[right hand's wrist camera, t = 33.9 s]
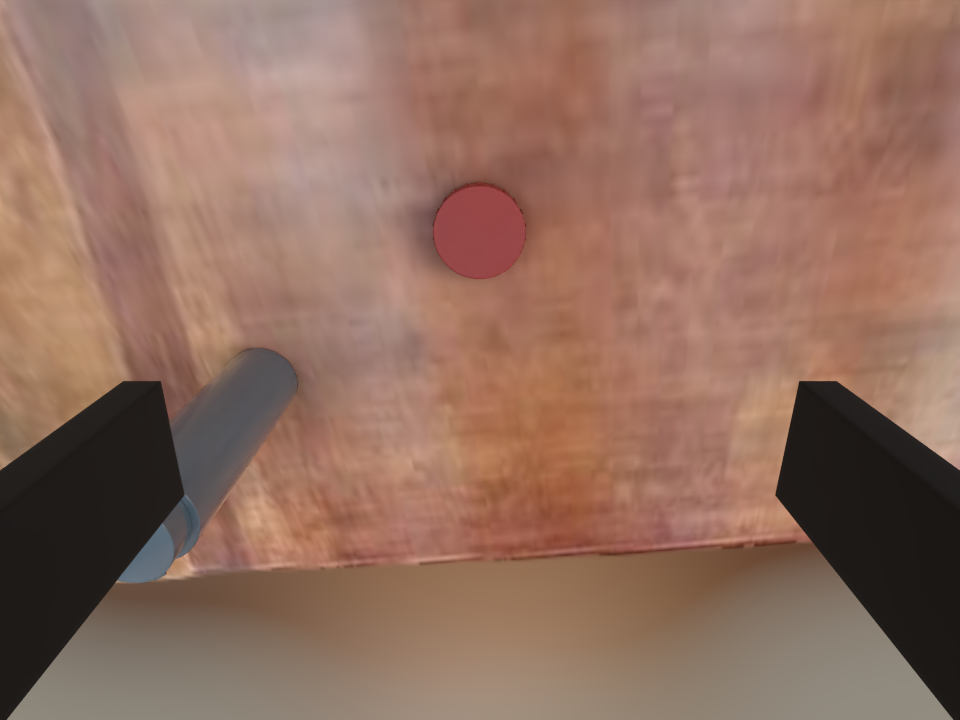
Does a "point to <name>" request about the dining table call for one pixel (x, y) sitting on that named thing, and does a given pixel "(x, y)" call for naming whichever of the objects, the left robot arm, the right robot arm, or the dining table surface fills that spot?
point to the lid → (479, 231)
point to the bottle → (216, 450)
